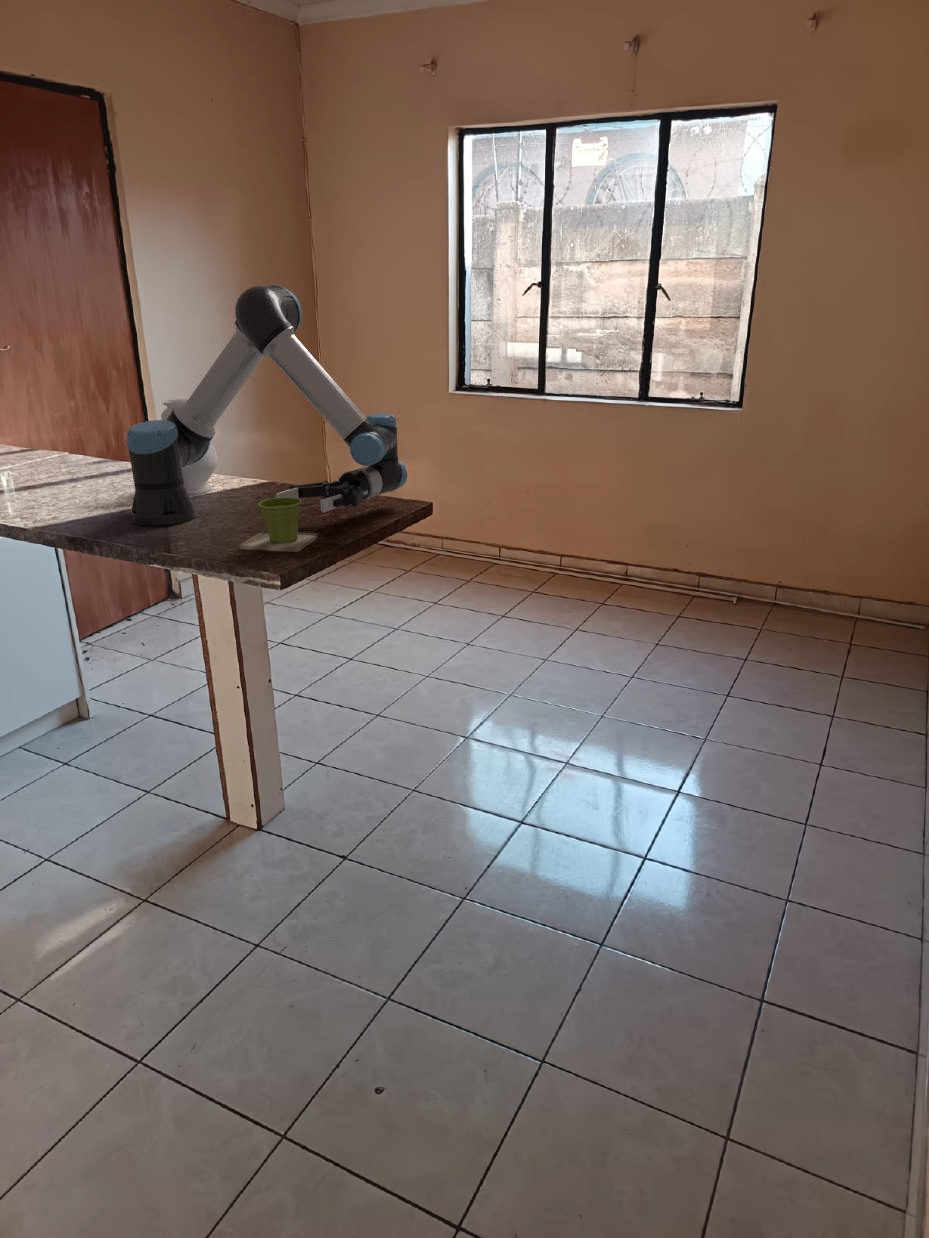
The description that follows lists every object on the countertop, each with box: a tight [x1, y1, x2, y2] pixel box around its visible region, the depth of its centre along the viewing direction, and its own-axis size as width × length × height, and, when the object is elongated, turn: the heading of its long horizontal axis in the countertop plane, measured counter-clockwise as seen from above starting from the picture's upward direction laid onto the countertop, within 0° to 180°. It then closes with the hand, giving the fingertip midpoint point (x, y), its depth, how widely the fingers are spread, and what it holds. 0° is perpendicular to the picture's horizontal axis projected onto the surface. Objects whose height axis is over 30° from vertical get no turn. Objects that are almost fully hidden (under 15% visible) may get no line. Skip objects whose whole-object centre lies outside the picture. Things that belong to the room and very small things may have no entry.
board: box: [238, 530, 320, 553], centre depth 194 cm, size 14×12×1 cm
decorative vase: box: [160, 398, 219, 497], centre depth 242 cm, size 18×18×25 cm
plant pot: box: [257, 497, 302, 543], centre depth 192 cm, size 9×9×9 cm
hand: (299, 502), depth 195 cm, fingers open, 13 cm apart
